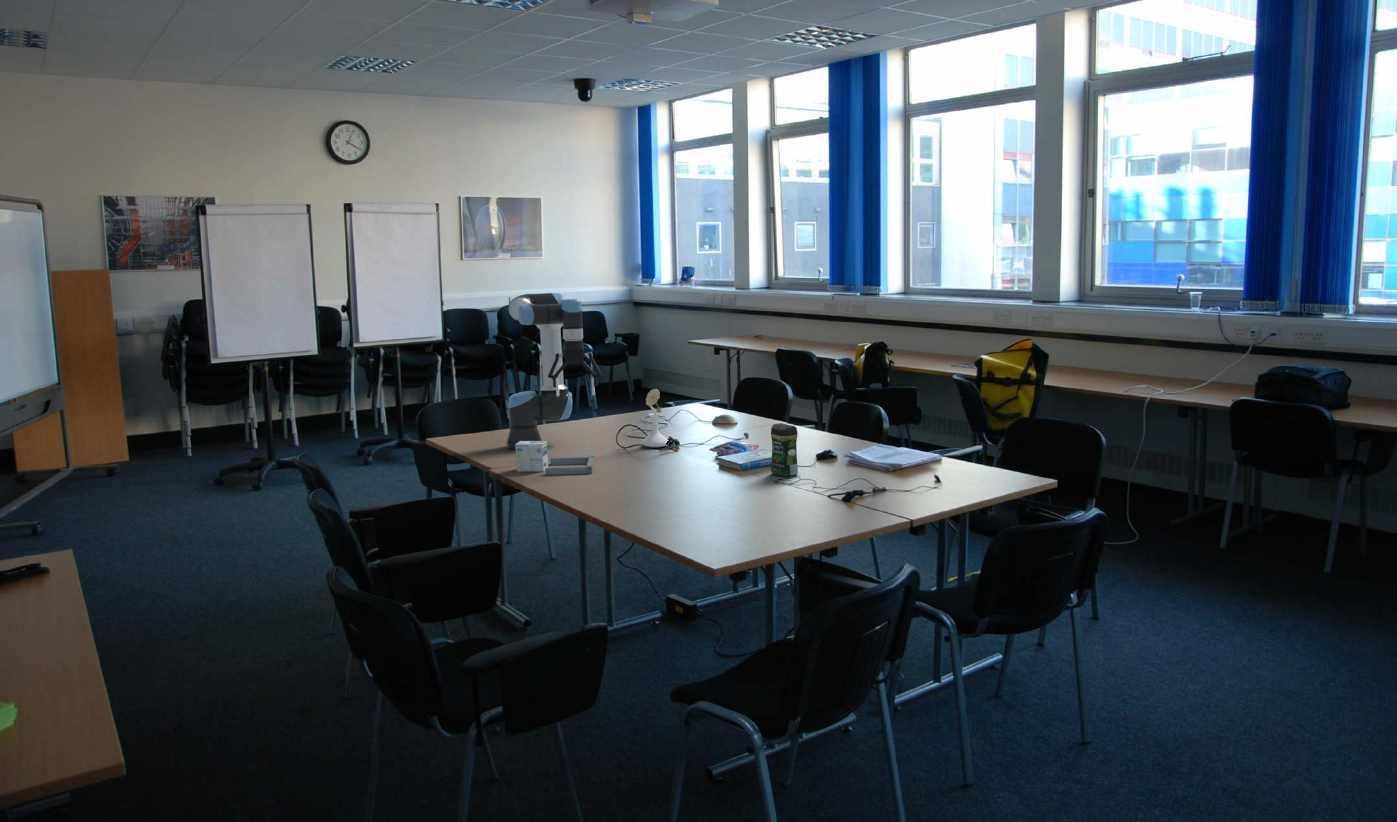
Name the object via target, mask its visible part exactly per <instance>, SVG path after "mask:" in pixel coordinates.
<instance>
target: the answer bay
mask: <svg viewBox="0 0 1397 822" xmlns="http://www.w3.org/2000/svg"><path fill="white" fill-rule="evenodd" d="M549 460H550V465H551V466H548V467H546V468H545V471H544V473H545V476H561V475H565V474H566V475H592V474H593V471H594V468H593V467H594V466H595V463H596V457H595V456H594V455H592V456H591V455H589V456H587V455H586V456H563V457H562V456H560V457H559V456H557V457H550V459H549ZM557 465H559V466H557ZM562 465H564V466H562ZM565 465H575V466H565ZM576 465H578V466H576ZM579 465H580V466H579ZM581 465H582V466H581Z"/></svg>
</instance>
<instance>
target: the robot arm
mask: <svg viewBox="0 0 1397 822" xmlns="http://www.w3.org/2000/svg"><path fill="white" fill-rule="evenodd" d="M582 305H583V304H582V300H581V299H580V298H566V299H565V298H564V295H562V294H561V293H559V292H547V293H545V292H544V293H526V294H519V295H518V296H516V297H513V298H512V299H511V301H510V302H509V303H508V309H507V310H508V311H507V312H508V313H509V316H510V317H511V318H512V319H514V320H516V321H519V324H521V326H522V325H523V326H531V325H536V327H537V328H538V329H539V332H540V348H541V352H540V353H541V365H542V366H541V367H542V381H543V382H542V383H543V385H542V387H541V388H540V390H539V391H540V392H539V393H537V392H536V391H535V390H527V391H520V392H518V393H517V392H516V393H513V394H512V395H510V396H509V397H508V403H507V405H508V419H509V421H508V422H509V432H508V435H507V438H506V439H507V440H506V449H508V448H509V449H508V450H511V451H512V450H513V451H514V450H515V451H516V446H515V445H516V443H518V442H520V441H543V439H542V436H541V434H540V431H539V427H538V422H548V421H549V422H550V421H561V420H567V419H569V418H570V417H571V414H572V410H573V394H572V392H570V391H569V389H568V387H567V386H566V385H565V384H564V369H565V368H566V366H567V365H570V366H572V365H581V366H583V367H584V368H585V370H586V372H588V373H589V374H590V375H591V395H592V396H595V395H596V392H595V391H596V390H595V387H597V386H598V378H599V377H602V372H601V370H600V368H599V366H598V364H597V363H596V361H595V359H594V357H593V352H592V351H589V352H585V351H584V349H585V348H584V347H585V346H584V329H583V306H582ZM561 328H562V335H561ZM562 339H563V340H564V341H563V343H562ZM562 344H563V349H562ZM562 350H563V351H562ZM585 357H586V358H587V359H589V362H590V363H591V364H592V366H593V369H594V370H595V371H594V370H593V369H592V368H591V367H590V366H589V364H587V363H586V361H585V360H584V359H585ZM563 359H564V361H563Z"/></svg>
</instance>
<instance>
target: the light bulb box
mask: <svg viewBox="0 0 1397 822" xmlns="http://www.w3.org/2000/svg"><path fill="white" fill-rule="evenodd" d="M547 443H548V442H547V441H546V440H542V441H520V442H518V443H516V445H515V446H516V450H515V464H516V472H517V473H518V472H521V473H522V472H523V473H525V472H537V473H538V472H541V473H542V472H545V468H546V467H549V463H548V462H549V459H548V458H549V457H548V444H547Z"/></svg>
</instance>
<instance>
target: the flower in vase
mask: <svg viewBox="0 0 1397 822" xmlns="http://www.w3.org/2000/svg"><path fill="white" fill-rule="evenodd" d="M660 394H661V392H660V390H658V389H657V388H655V389H654V388H653V389H651V390H650V391H649V392H648V393H647V395H646V398H645V401H646V402H645V404H646V406H648V407H650V409H651V410H653V411H654V413H653V412H652V413H649V414H648V416H649V417H650V419H651V424H652V425H651V426H652V430H651V432H650V433H649V434H648V435H646V437H645V438H644V439H643V440H642V442H641V444H642V446H645V447H646V448H661V447H666V446H665V444H666V443H667V441H669V440H668V439H667V437H666V436H664V435H662V434H661V433H660V431H659V426H658V425H659V424H658V423H659V418H660V417H661V415H662V414H661V413H662V409H661V407H660V406H659V404H658V401H659V399H660ZM654 405H656V408H654V407H653V406H654Z"/></svg>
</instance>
